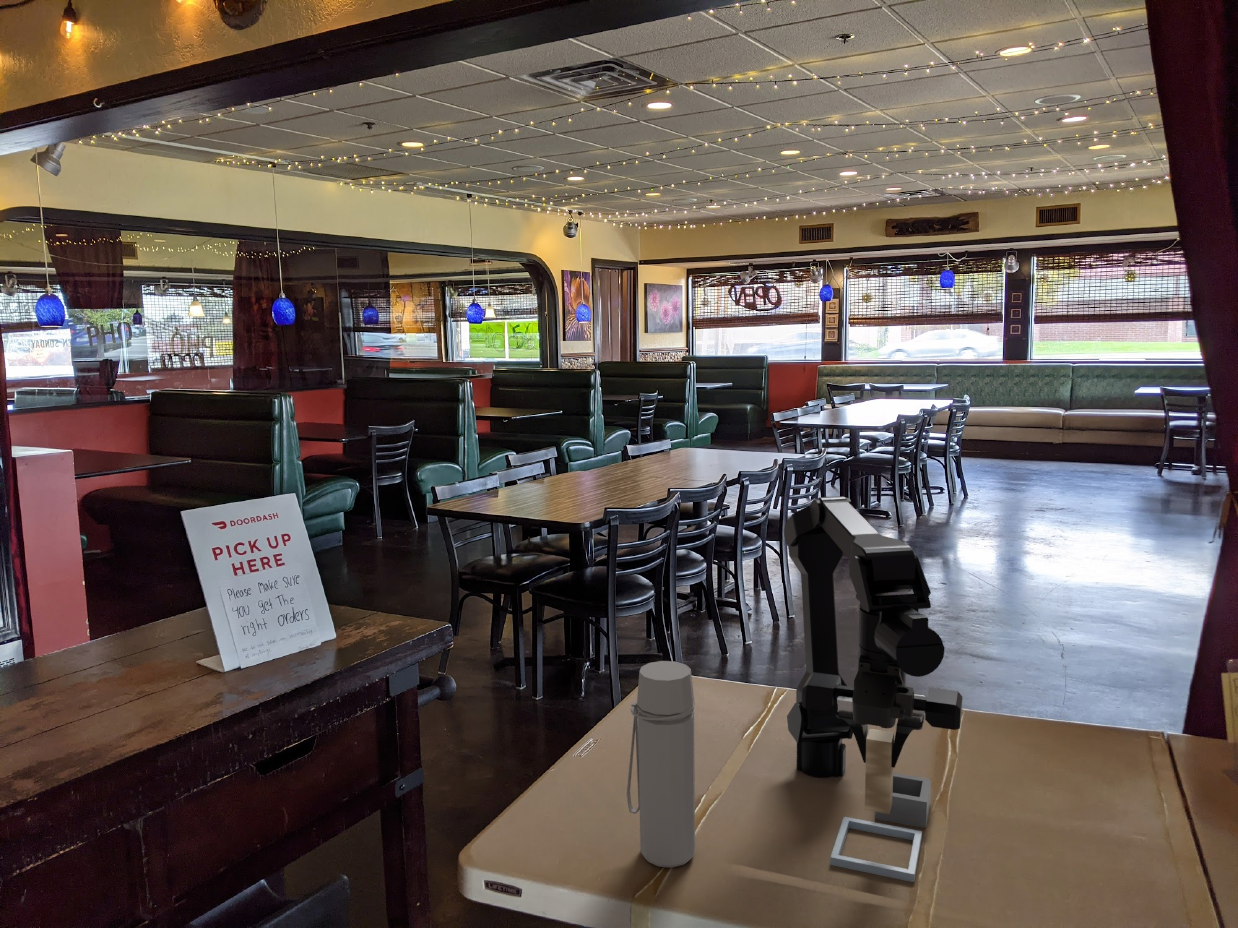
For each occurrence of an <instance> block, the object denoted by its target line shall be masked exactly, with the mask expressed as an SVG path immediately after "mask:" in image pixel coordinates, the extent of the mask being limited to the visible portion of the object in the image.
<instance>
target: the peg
mask: <svg viewBox="0 0 1238 928" xmlns="http://www.w3.org/2000/svg"><path fill="white" fill-rule="evenodd" d="M894 740H895V731H894V732H893V731H888V730H880V729H873V728H868V735H867V738H866V763H865V779H864V780H865V781H864V782H865V783H864V784H865V786H864V788H865V789H864V811H868V812H869V811H870V812H874V813H875V812H880V813H886V814H890V810H891V806H892V794H893V773H894V768H893V767H892V751H893V745H894Z"/></svg>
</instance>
